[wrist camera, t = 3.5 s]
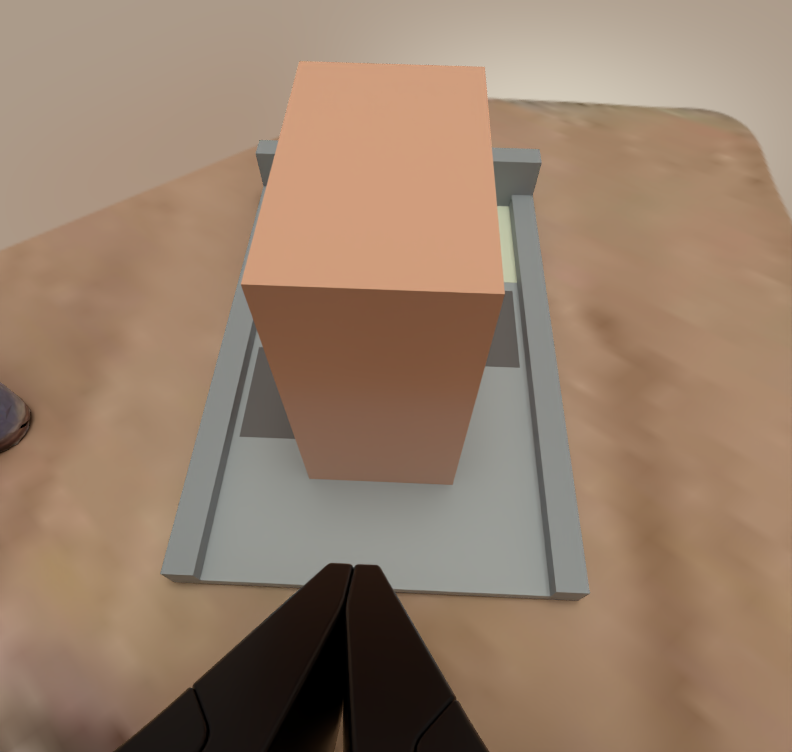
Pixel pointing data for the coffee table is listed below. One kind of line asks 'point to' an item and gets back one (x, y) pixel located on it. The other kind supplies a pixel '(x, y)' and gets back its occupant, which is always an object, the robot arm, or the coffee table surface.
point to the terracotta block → (379, 267)
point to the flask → (12, 418)
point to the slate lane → (389, 501)
